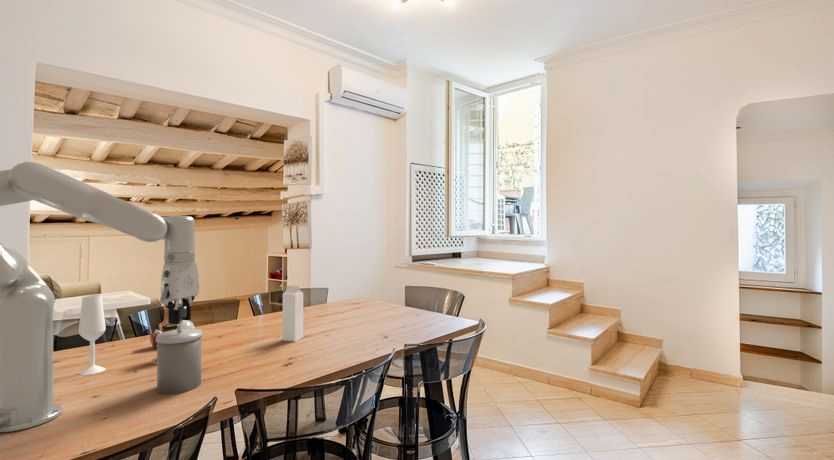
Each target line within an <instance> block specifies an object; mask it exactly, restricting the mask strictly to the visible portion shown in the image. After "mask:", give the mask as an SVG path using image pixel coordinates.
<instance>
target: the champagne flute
mask: <svg viewBox="0 0 834 460" xmlns="http://www.w3.org/2000/svg"><path fill="white" fill-rule="evenodd" d="M79 318H80V319H79V324H78V325H79V326H78V335H80V336H81V338H83V339H84V340H86V341H89V366H87V367H86V368H84V369H82V370H81V371H79V372H78V375H80V376H89V375H90V376H91V375H95V374H99V373H102V372H104V371H105V370H106V368H105V367H102V366H101V365H96V364H95V363H96V360H95V359H96V356H95V355H96V354H95V353H96V351H95V350H96V349H95V347H96V345H95V344H96V343H95V342H96V340H98V339H99V338H100V337H101V336H102V335H104V333H105V332H106V320H105V311H104V303H103V295H102V294H89V295H88V294H87V295H84V296H83V295H82V299H81V308H80V317H79Z"/></svg>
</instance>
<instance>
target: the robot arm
mask: <svg viewBox="0 0 834 460" xmlns="http://www.w3.org/2000/svg"><path fill="white" fill-rule="evenodd" d="M30 201H36V202H38V203H41V204H43V205H45V206H49V207H50V208H52V209H53V208H54V209H56V210H58V211H61V212H64V213H66V214H69V215H71V216H74V217H76V218H78V219H81V220H84V221H87V222H91V223H94V224H95V223H96V224H98V225H102V226H105V227H108V228H110V229H113V230H116V231H118V232H122V234H126V235H128V236H131V237H134V238H135V239H137V240H139V241H141V242H146V243H156V242H159V241H160V240H161V241H162V240H164V257H163V260H164V264H163V267H162V271H161V279H160V281H161V283H160V284H161V285H160V294H161V296H160V298H159V303H160V304H162V305H163V306H165V307H166V310H168V311H167V313H168V316H167V317H168V323H167V324H179V323H180V310H179V309H178V306H187V317H185V318H182V320H189V321H191V319H192V306H193V302H194V300H195V298H196V297H197V296H198V294H199V293H200V280H199V278H200V277H199V270H198V265H197V262H196V261H195V260H196V258H195V256H196V255H195V252H196V251H195V242H196V241H195V240H196V239H195V234H196V232H195V231H196V230H195V225H196V224H195V223H196V222H195V219H194V217H192V216H189V215H169V216H160V215H159V214H156V213H154V212H151V211H149V210H147V209H144V208H142V207H140V206H137V205H136V204H134V203H131V202H128V201H126V200H124V199H121V198H119V197H117V196H115V195H112V194H110V193H108V192H106V191H104V190H102V189H100V188H98V187H95V186H93V185H90V184H88V183H85V182H84V181H81V180H79V179H76V178H74V177H72V176H70V175H67V174H65V173H63V172H60V170H56V169H53V168H52V167H49V166H48V165H44V164H41V163H40V162H34V161H23V162H21V163H18V164H16V165H14V166H13V167H12V168H11V169H3V170H0V207H3V206H9V205H15V204H16V205H17V204H19V203H20V204H21V203H27V202H30ZM54 294H55V293H54V292H53V290H51V287H49V286H48V285H47V283H46V282H45V281H44V280H43V279H42V277H41V276H40V275H39V274H38V273H37V271H36V270H35V269H34V268H33V267H32V266H31V264H30V263H29V262H28V261H27V260H26V259H25V258H24V257H23V256H22V255H21V254H20V253H19V252H17V251H16V250H13V249H11V248H7V247H6V246H5V245H4V244H2V242H1V241H0V433H9V432H15V431H21V430H24V429H25V430H26V429H29V428H34V427H36V426H39V425H43V424H44V423H47V422H50V421H52V420H53V419H55V418H57V417H58V416H59V415H61V413H62V411H63V410H62V409H63V408H62V407H63V406H62V405H60V404H59V403H54V307H55V303H56V302H55V301H56V297H55V295H54ZM179 303H180V304H181V305H179Z"/></svg>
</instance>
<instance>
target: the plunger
mask: <svg viewBox="0 0 834 460" xmlns="http://www.w3.org/2000/svg"><path fill="white" fill-rule="evenodd" d="M178 309H179V310H180V323H179V324H177V333H182V318H185V317H187V306H182V305H179V306H178Z"/></svg>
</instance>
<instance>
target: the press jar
mask: <svg viewBox="0 0 834 460" xmlns="http://www.w3.org/2000/svg"><path fill="white" fill-rule="evenodd" d="M203 334H204V333H203V330H202V329H200V328H199V329H198V328H195V329H182V333H177V330H172V331H167V332H163V333H160V334H158V335H157V336H156V342H157V346H156V347H157V348H156V352H157V356H156V357H157V364H156V371H157V372H156V380H157V381H156V382H157V383H156V387H157V389H156V390H157V392H158V393H159V394H164V395H171V394H172V395H174V394H175V395H176V394H180V393H185V392H189V391H192V390H194V389H197V388H198V387H200V386H201V384H202V337H203Z"/></svg>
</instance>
